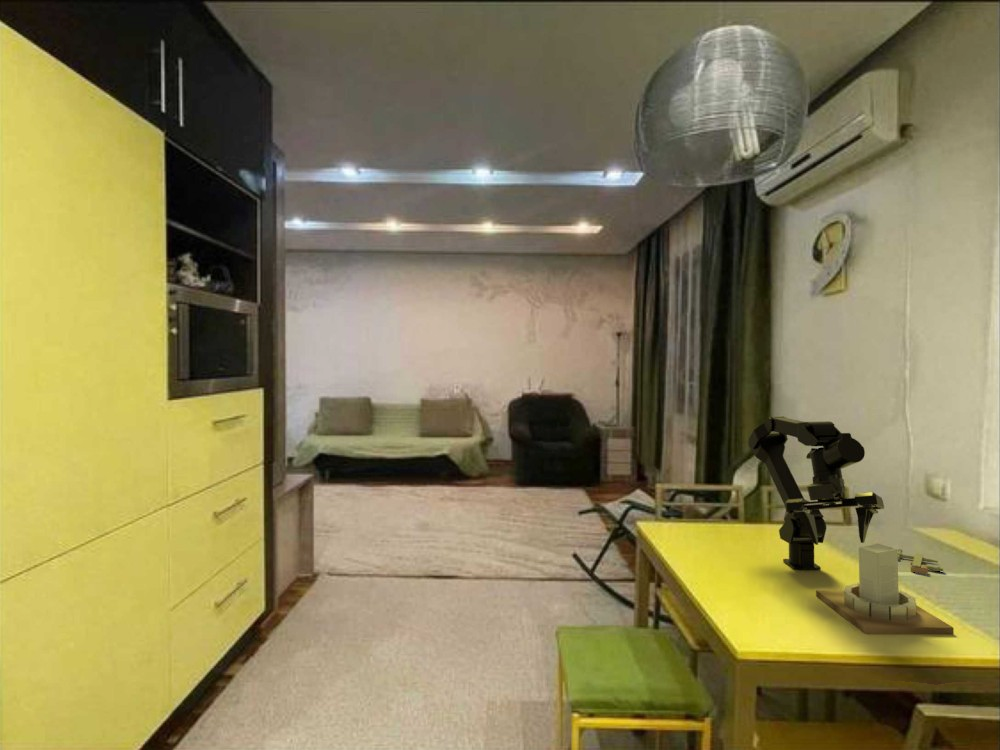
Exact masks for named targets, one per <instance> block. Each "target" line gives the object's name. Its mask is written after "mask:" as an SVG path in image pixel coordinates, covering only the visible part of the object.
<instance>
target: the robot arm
mask: <svg viewBox="0 0 1000 750" xmlns="http://www.w3.org/2000/svg"><path fill="white" fill-rule="evenodd" d="M788 436H791V437H794V438H797V442H799V443H801V444H802V445H804V446H806V447H811V448H810V451H809V452H808V453H807V454H806V457H805V458H806V459H807V460H811V467H812V472H813V476H812V483H810V484H808V485H806V489H807V492H808V496H809V500H810V501H809V500H807V499H805V498H804V495H803V493H802V492H801V490H800V488H799V486H798V484H797V482H796V480H795V479H796V478H794V476H793V473H792V471H791V470H790V467H789V466H788V463H787V461H786V459H785V457H784V454H785V449H786V446H785V444H786V443H787V442H788V440H789V437H788ZM748 447H749V449H750V450H751V452H752V453H753V455H754V457H755V458H756V459H758V460H760V462H762V463H764V464H765V467H766V468H767V470H768V473H769V475H770V477H771V479H772V481H773V483H774V486H775V487H776V490H777V492H778V494H779V496H780V499H781V501H782V503H783V505H784V508H785V513H784V516H783V520H784V523H783V524H782V525H781V527H780V528H779V530H778V533H779V539H780V540H782V541H784V542H786V543H788V558H783V559H782V561H783V562H784V563H785V564H787V565H788V566H789V567H790V568H792V569H793V570H821V568H822V567H821V566H820V565H818V564H817V563H815V545H816V546H818V545H819V543H820V544H823V543H824V541H825V540H824V539H825V536H826V532H827V523H826V521H825V520H824V515H823V514H822V512H821V511H820V510H827V509H829V510H830V509H840V508H841V509H842V508H843V509H844V508H855V512H856V515H857V525H858V526H857V527H858V536H859V540H860V543H861V544H865V541H866V537H867V533H868V530H869V525H870V524H871V521H872V519H873V516H874V514H875V515H876V514H879V511H878V510H884V509H885V505H884V500H883V498H882V497H881V496H879V495H878V494H876V493H875V492H873V491H869V492H858V493H854V497H849V498H848V497H847V496H846V487H845V479H844V478H843V474H842V473H843V472H842V469H845V468H848V467H850V466H852V465H855V464H857V463H860V462H862V461H863V459H864V457H865V454H866V453H865V452H866V451H865V448H864V445H862V444H861V442H859V441H858V440H857V439H855V438H854V437H852V433H850V432H841V431H840V430H839V429H838V428H837V427H836V426H835V423H833V421H802V420H799V419H792V418H788V417H785V416H769V417H766V419H765V420H764V421H763V422H762V423H761V424H760V425H759V426H757V427H756V428H754V429H753V430H752V432H751V434H750V436H749V437H748ZM814 447H816V448H814ZM817 447H818V448H817Z"/></svg>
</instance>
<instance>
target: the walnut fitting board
mask: <svg viewBox="0 0 1000 750" xmlns="http://www.w3.org/2000/svg"><path fill="white" fill-rule="evenodd" d="M815 596H816V597H817V598H818V599H820V600H821V601H823V602H824V603H825V604H826V605H828V606H829V607H830V608H831V609H833V610H834V611H835V612H837V613H838V614H839V615H840V616H842V617H843V618H844V619H846V620H847V621H848V622H849V623H851V624H852V625H853V626H855V627H856V628H857V629H859V630H860V631H861V632H863V633H864V635H865V634H866V635H867V634H869V635H870V634H872V635H876V634H877V635H880V634H881V635H897V634H899V635H900V634H902V635H905V634H906V635H954V634H955V633H954V627H953V626H952V625H951V624H949V623H947V622H945V621H944V620H942V619H941V618H938V617H937V616H935V615H933V614H931V613H930V612H928V610H925V609H923V608H922V607H920V606H919V605H917V604H916V617H915V618H912V619H910V620H890V619H889V620H886V619H880V618H875V617H871V616H867V615H864V614H861V613H859V612H856V611H854V610H852V609H851V608H849V607H848V606H846V605H845V604H844V589H816V590H815Z"/></svg>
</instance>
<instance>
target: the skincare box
mask: <svg viewBox="0 0 1000 750" xmlns="http://www.w3.org/2000/svg"><path fill="white" fill-rule="evenodd" d="M898 550H899V549H897V548H895V547H891V546H888V545H884V544H881V543H874V544H871V545H864V546H861V547H858V569H859V571H858V576H859V578H858V581H859V582H858V584H859V586H860V598H862V599H864V600H867V601H870V602H875V603H880V604H886V605H899V593H898V590H899V560H898Z"/></svg>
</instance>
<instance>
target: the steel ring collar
mask: <svg viewBox="0 0 1000 750" xmlns="http://www.w3.org/2000/svg"><path fill="white" fill-rule="evenodd" d="M843 590H844V604H845V605H846V606H848V607H849V608H851V609H852V610H854V611H856V612H859V613H861V614H864V615H867V616H871V617H875V618H880V619H886V620H889V619H890V620H910V619H912V618H915V617H916V605H917V600H916V597H914V596H912V595H911V594H909V593H907V592H905V591H903V590H900V589H898V593H899V605H886V604H880V603H875V602H870V601H867V600H864V599H862V598H860V586H859V583H853V584H848V585H846V586H844V589H843Z"/></svg>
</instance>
